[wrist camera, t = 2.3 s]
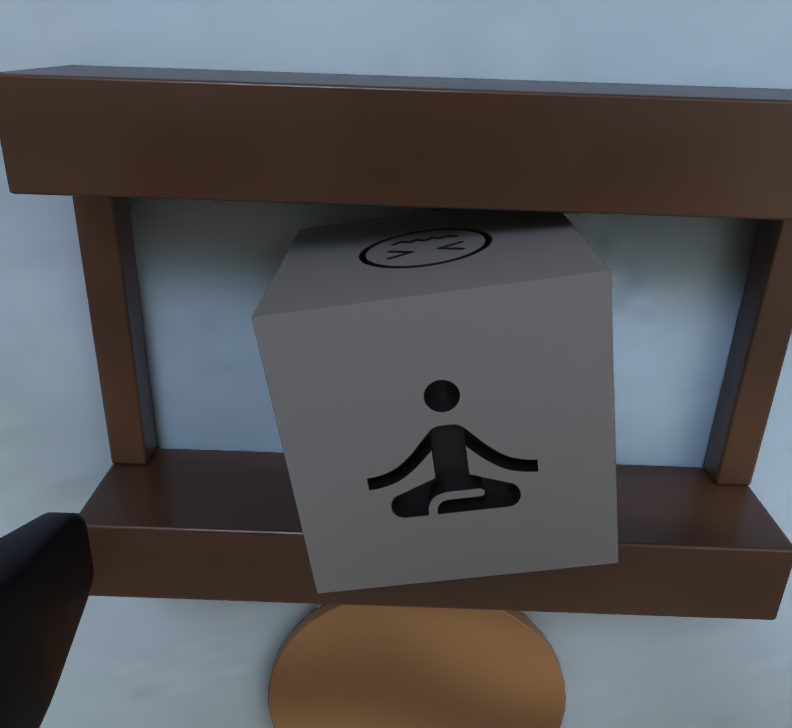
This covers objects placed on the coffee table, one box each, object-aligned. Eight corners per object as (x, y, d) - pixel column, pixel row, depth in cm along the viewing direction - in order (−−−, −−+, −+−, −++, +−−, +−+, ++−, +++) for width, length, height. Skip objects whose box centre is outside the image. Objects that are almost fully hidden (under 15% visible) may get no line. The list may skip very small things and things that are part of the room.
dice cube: (342, 442, 17) (317, 593, 12) (299, 229, 15) (251, 317, 10) (561, 416, 17) (618, 563, 12) (547, 195, 15) (610, 270, 10)
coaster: (545, 797, 22) (547, 811, 21) (275, 788, 22) (273, 801, 21) (581, 585, 19) (584, 596, 18) (264, 574, 19) (261, 585, 18)
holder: (719, 531, 18) (776, 621, 15) (132, 510, 18) (83, 596, 15) (834, 90, 14) (939, 104, 11) (70, 65, 14) (-14, 72, 11)
